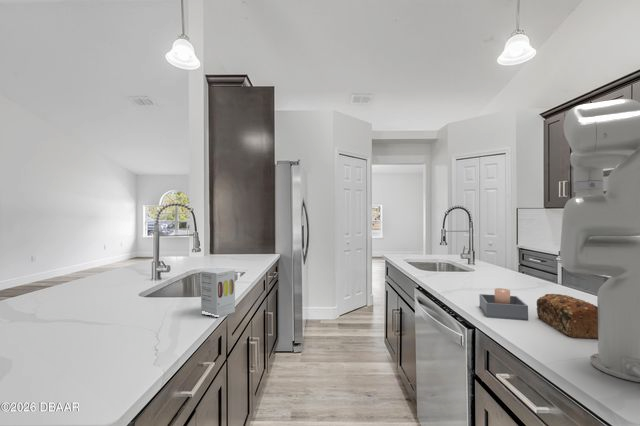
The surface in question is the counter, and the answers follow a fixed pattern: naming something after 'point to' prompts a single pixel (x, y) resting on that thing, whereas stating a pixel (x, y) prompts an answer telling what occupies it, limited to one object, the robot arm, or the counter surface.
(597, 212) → the robot arm
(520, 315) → the bin
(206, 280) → the supplement box
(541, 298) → the bread
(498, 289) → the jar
